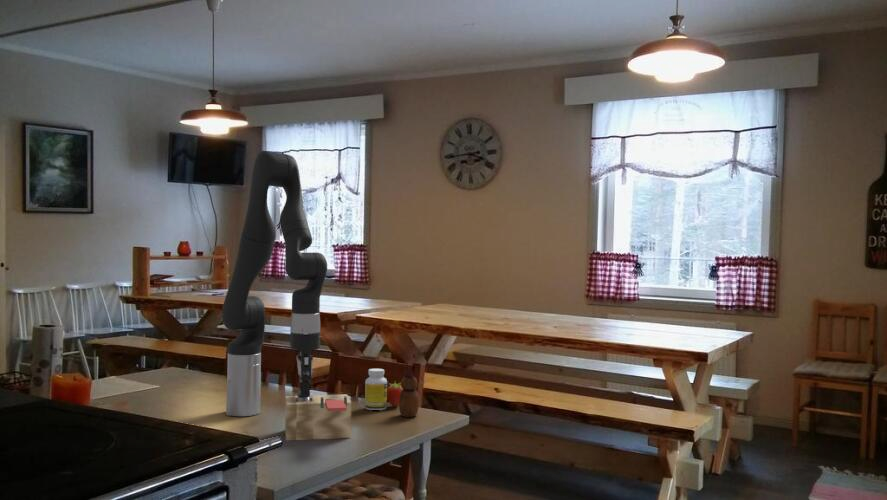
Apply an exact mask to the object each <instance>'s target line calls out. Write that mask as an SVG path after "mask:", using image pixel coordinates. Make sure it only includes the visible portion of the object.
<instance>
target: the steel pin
mask: <svg viewBox="0 0 887 500" xmlns="http://www.w3.org/2000/svg"><path fill="white" fill-rule="evenodd" d="M297 396H298V402H302V401H310V396H309V397H301V390H300V389H299V390H297Z"/></svg>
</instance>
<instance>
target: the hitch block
mask: <svg viewBox="0 0 887 500" xmlns="http://www.w3.org/2000/svg"><path fill="white" fill-rule="evenodd" d="M326 399H342V400H343V401H344V403H345V405H346V407H347V411H328V410H327V407H326V404H325V400H326ZM351 401H352V400H351V399H350V397H349V395H348V394H344V393H343V394H314V395H311V394H310V401H302V402H298V395H285V406H284V407H285V414H284V415H285V416H284V417H285V418H284V421H285V422H284V423H285V424H284V431H285V432H284V433H285V441H305V440H308V441H309V440H330V439H331V440H332V439H333V440H334V439H351V434H352V433H351V431H352V402H351Z"/></svg>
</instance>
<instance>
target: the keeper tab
mask: <svg viewBox="0 0 887 500" xmlns="http://www.w3.org/2000/svg"><path fill="white" fill-rule="evenodd" d="M325 404H326V407H327V410H328V411H347V407H346V405H345V403H344V401H343V400H342V399H326V400H325Z"/></svg>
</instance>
